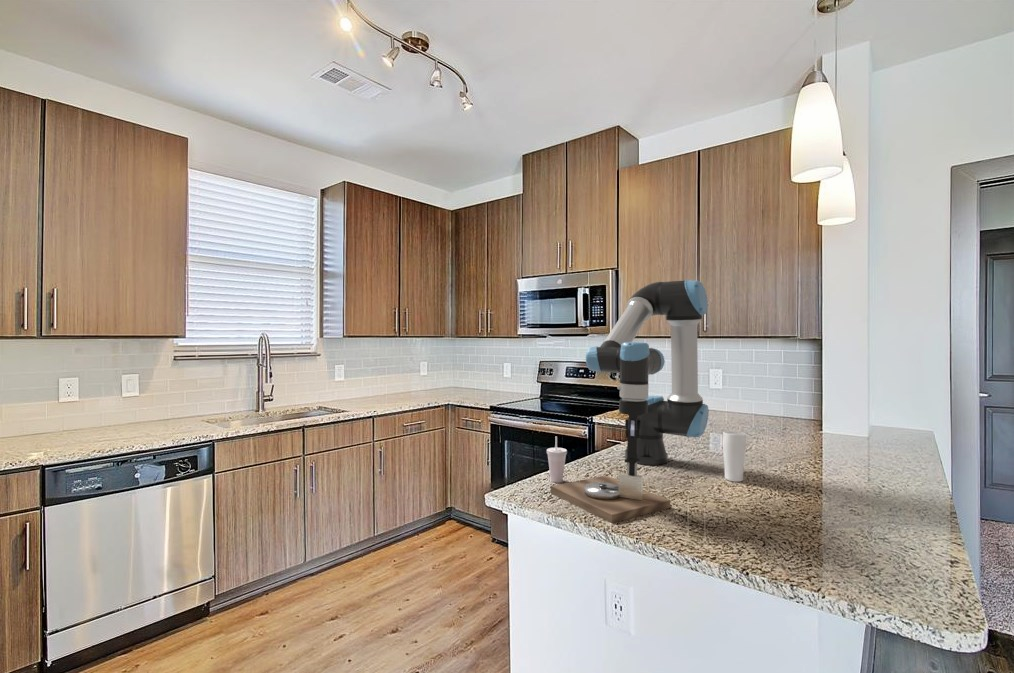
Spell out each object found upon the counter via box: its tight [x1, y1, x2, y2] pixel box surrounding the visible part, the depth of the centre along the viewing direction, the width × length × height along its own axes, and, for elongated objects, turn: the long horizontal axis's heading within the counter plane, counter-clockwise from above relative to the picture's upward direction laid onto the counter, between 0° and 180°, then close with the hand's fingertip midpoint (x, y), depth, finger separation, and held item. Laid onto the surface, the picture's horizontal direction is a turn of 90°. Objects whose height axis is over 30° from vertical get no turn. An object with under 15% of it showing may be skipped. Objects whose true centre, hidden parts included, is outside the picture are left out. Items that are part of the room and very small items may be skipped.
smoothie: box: [546, 436, 568, 484], centre depth 150 cm, size 6×6×14 cm
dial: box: [584, 472, 644, 500], centre depth 131 cm, size 16×10×6 cm, turn 66°
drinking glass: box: [722, 430, 747, 483], centre depth 153 cm, size 7×7×15 cm
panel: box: [550, 475, 671, 524], centre depth 133 cm, size 21×25×2 cm
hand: (631, 485), depth 130 cm, fingers closed
